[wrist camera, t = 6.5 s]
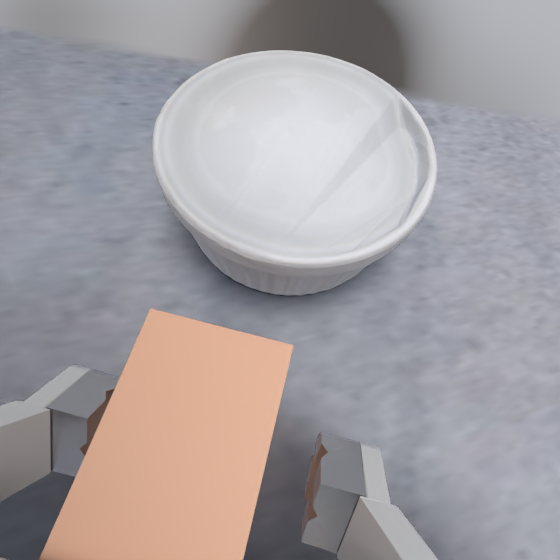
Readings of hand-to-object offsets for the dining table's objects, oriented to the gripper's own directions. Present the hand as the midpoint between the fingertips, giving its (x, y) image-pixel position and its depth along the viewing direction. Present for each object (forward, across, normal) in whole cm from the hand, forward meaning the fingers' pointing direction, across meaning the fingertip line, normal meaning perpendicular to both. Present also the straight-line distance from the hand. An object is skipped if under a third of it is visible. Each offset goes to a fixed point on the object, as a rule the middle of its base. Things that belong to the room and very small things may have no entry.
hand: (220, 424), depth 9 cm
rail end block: (+3, 0, +4) cm, 5 cm away
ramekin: (+11, 0, -4) cm, 12 cm away
